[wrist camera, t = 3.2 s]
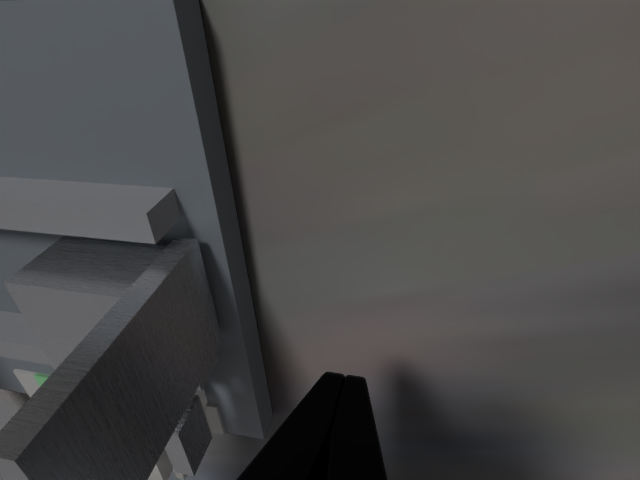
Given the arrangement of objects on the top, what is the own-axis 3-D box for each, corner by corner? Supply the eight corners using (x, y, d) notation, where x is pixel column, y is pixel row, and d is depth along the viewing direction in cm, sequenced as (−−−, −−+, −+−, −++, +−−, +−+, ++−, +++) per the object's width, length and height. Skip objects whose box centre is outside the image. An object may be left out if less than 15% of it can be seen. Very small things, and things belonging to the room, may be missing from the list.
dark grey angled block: (197, 238, 11) (14, 460, 6) (237, 402, 14) (140, 621, 10) (59, 225, 12) (-192, 412, 7) (129, 383, 15) (-7, 576, 11)
